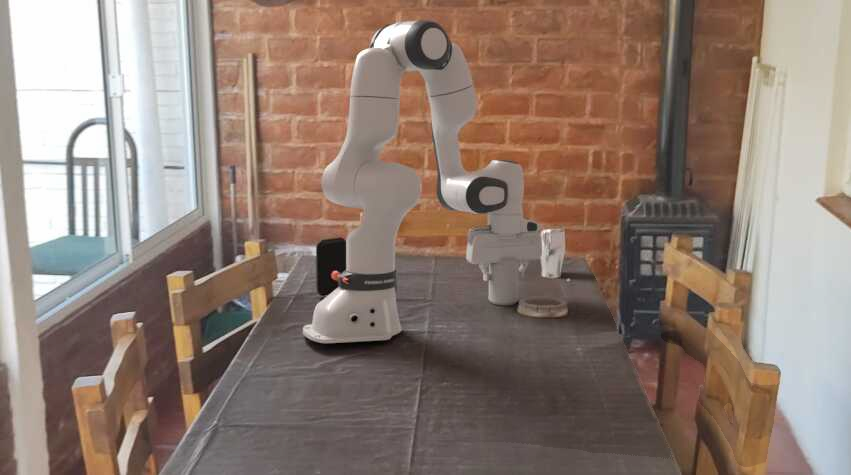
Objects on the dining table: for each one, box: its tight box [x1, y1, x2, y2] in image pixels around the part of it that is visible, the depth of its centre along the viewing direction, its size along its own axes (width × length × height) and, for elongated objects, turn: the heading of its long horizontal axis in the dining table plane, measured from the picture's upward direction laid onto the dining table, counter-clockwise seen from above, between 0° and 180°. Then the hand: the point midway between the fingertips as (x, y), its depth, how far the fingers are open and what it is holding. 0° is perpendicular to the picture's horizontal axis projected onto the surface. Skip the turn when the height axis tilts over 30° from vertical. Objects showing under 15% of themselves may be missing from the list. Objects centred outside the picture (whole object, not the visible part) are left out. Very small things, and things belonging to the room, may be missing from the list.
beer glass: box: [539, 228, 566, 279], centre depth 250 cm, size 7×7×15 cm
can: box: [487, 257, 520, 306], centre depth 227 cm, size 8×8×12 cm
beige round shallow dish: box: [517, 295, 568, 319], centre depth 219 cm, size 12×12×2 cm
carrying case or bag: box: [315, 237, 346, 297], centre depth 235 cm, size 11×3×15 cm, turn 135°
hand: (503, 279), depth 227 cm, fingers open, 8 cm apart
